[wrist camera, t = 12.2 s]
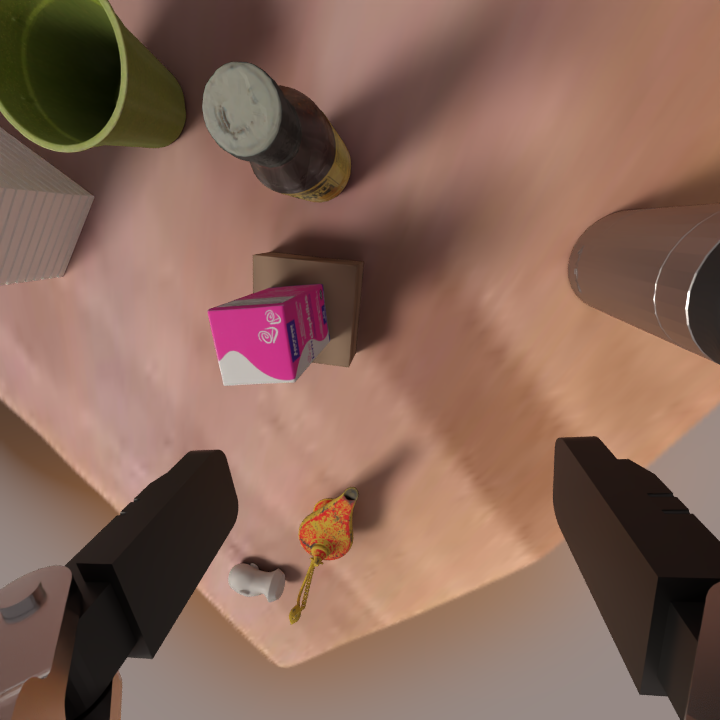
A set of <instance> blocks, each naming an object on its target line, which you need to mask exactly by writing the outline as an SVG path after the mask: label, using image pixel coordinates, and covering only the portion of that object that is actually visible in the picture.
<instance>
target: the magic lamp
mask: <svg viewBox="0 0 720 720" xmlns="http://www.w3.org/2000/svg"><path fill="white" fill-rule="evenodd" d="M357 499H358V491H357V489H356V488H355V487H350V488H347V489H346V490H345V491H344V493H343V494H342V495H340V496H339V497H338V498H336V499H323V500H321V501H319V502H318V503H317V504H316V505H315V507H314V511H313V513H311V514H310V515H308V516H307V517H306V518H305V519H304V520H303V521H302V523H301V525H300V527H299V540H300V543H301V545H302V547H303V548H304V549H305V550H306V552H308V553H309V554H310V555H312V556H313V558H310V559H311V560H312V561H311V564H310V567H309V569H308V572H307V574H306V577H305V579H304V582H303V584H302V587H301V589H300V592H299V595H298V598H297V605H296V606H295V607H294V608H293V609H292V610H291V611H290V614H289V619H290V622H291V625H292V624H293V623H295V622H297V621H298V620H299V618H300V615H301V611H302V610H303V609H304V608H305V606H306V601H307V596H308V592H309V588H310V584H311V579H312V575H313V571H314V569H315V568H314V567H315V566H316V567H317V566H319V564H323V562H321V561H322V560H335V559H338V558H341V557H342V556H344V555H345V554H346V553H347V552H348V551H349V550H350V548H351V546H352V543H353V528H352V514H353V508H354V505H355V503H356V501H357ZM310 573H312V575H311V574H310ZM309 576H311V577H309ZM309 579H310V580H309ZM306 581H307V583H306ZM308 582H310V583H308ZM305 583H306V584H307V585H309V586H307V585H306V589H308V590H306V589H305V592H304V597H305V596H306V597H305V598H304V597H303V601H304V600H305V601H304V602H303V601H302V605H301V608H300V597H301V594H302V591H303V588H304V586H305ZM306 592H307V593H306ZM305 593H306V594H305ZM303 605H305V606H303ZM294 618H295V619H294ZM293 619H294V620H293Z"/></svg>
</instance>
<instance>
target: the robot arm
mask: <svg viewBox="0 0 720 720" xmlns="http://www.w3.org/2000/svg"><path fill="white" fill-rule="evenodd" d="M568 276H569V281H570V284H571V287H572V289H573V291H574V292H575V294H576V295H577V296H578V297H579V298H580V299H581V300H582V301H583V302H584V303H586V304H588V305H589V306H591V307H593V308H595V309H597V310H600V311H602V312H604V313H606V314H608V315H610V316H612V317H615V318H617V319H619V320H621V321H624V322H626V323H628V324H630V325H632V326H635V327H637V328H639V329H641V330H644V331H646V332H648V333H650V334H653V335H655V336H657V337H659V338H661V339H664V340H666V341H668V342H670V343H673V344H675V345H677V346H679V347H681V348H684V349H686V350H688V351H690V352H693V353H695V354H698V355H700V356H702V357H704V358H706V359H709V360H711V361H713V362H715V363H717V364H720V203H717V204H704V205H691V206H678V207H665V208H649V209H637V210H627V211H619V212H616V213H613V214H610V215H607V216H606V217H604V218H602V219H600V220H598V221H597V222H595V223H594V224H593V225H591V226H590V227H589V228H588V229H587V230H586V231H585V232H584V233H583V234H582V235H581V236H580V238H579V239H578V241H577V243H576V244H575V246H574V247H573V250H572V253H571V255H570V258H569V265H568ZM553 504H554V511H555V515H556V519H557V522H558V525H559V527H560V529H561V531H562V533H563V536H564V538H565V540H566V542H567V544H568V546H569V548H570V550H571V552H572V554H573V556H574V558H575V561H576V563H577V565H578V567H579V569H580V571H581V573H582V575H583V577H584V579H585V581H586V584H587V586H588V588H589V590H590V592H591V594H592V596H593V598H594V600H595V602H596V604H597V607H598V609H599V611H600V613H601V615H602V617H603V619H604V621H605V623H606V625H607V627H608V629H609V632H610V634H611V635H612V638H613V640H614V642H615V644H616V646H617V648H618V650H619V652H620V654H621V656H622V659H623V661H624V663H625V665H626V667H627V669H628V671H629V673H630V675H631V678H632V679H633V682H634V684H635V686H636V688H637V690H638V692H639V694H640V695H654V696H668V698H669V700H670V701H671V703H672V705H673V707H674V709H675V711H676V713H677V714H678V716H679V718H680V720H720V541H719V540H718V539H717V538H716V537H715V536H714V535H713V534H712V533H711V532H710V531H709V530H708V529H707V528H706V527H705V526H704V525H703V524H702V523H701V522H700V521H699V520H698V519H697V518H696V516H695V515H694V514H690V513H689V509H688V508H687V507H686V506H685V505H684V504H683V503H682V502H681V501H680V500H679V499H678V498H677V497H674V496H673V493H672V492H671V491H670V490H669V489H668V488H667V486H666V485H665V484H664V483H663V482H662V481H661V480H660V479H659V478H658V477H657V476H656V475H655V474H653V473H652V472H650V471H648V470H647V469H645V468H643V467H641V466H640V465H638V464H636V463H634V462H633V461H631V460H629V459H617V458H616V457H615V456H614V455H613V454H612V453H611V451H610V450H609V449H608V448H607V447H606V446H605V445H604V443H603V442H602V441H601V440H600V439H599V438H598V437H595V436H592V437H565V438H558V439H557V440H556V443H555V455H554V481H553ZM237 515H238V499H237V495H236V491H235V488H234V484H233V480H232V477H231V473H230V469H229V466H228V462H227V459H226V456H225V454H224V453H223V452H222V451H221V450H197V451H190V452H188V453H187V454H186V455H185V456H184V457H183V458H182V459H181V460H180V461H179V462H178V463H177V464H176V465H175V466H174V467H173V468H172V469H171V470H170V471H169V472H168V473H166V474H164V475H163V476H161V477H160V478H158V479H157V480H155V481H153V482H152V483H150V484H149V485H148V486H147V487H146V488H145V489H144V490H143V491H142V492H141V493H140V494H139V495H138V496H137V497H136V498H134V502H130V503H129V504H128V505H127V506H126V507H125V508H124V509H123V510H122V511H121V512H120V515H118V516H116V517H115V518H114V519H113V520H112V521H111V522H110V523H109V524H108V525H107V526H106V527H104V528H103V529H102V530H101V532H99V533H98V534H97V535H96V536H95V537H94V538H93V539H92V540H91V541H90V542H89V543H88V544H87V545H86V546H85V547H84V548H83V549H82V550H81V551H80V552H79V553H78V554H76V555H75V556H74V557H73V558H72V559H71V560H70V561H69V562H68V563H67V564H66V565H65V566H61V565H56V566H49V567H45V568H41V569H38V570H35V571H32V572H30V573H28V574H26V575H23V576H22V577H20V578H18V579H16V580H14V581H12V582H11V583H9V584H7V585H6V586H5V587H3V588H2V589H0V720H121V719H120V718H121V700H122V678H121V675H120V673H119V671H118V670H119V668H120V667H121V666H122V664H123V663H124V661H125V660H126V658H127V657H131V658H147V659H153V658H154V656H155V654H156V653H157V651H158V649H159V647H160V646H161V644H162V643H163V641H164V639H165V638H166V636H167V635H168V633H169V631H170V629H171V628H172V626H173V625H174V623H175V621H176V620H177V618H178V616H179V615H180V613H181V612H182V610H183V608H184V607H185V605H186V603H187V602H188V600H189V598H190V597H191V595H192V594H193V592H194V590H195V589H196V587H197V585H198V584H199V582H200V580H201V579H202V577H203V575H204V574H205V572H206V571H207V569H208V567H209V566H210V564H211V562H212V561H213V559H214V557H215V556H216V554H217V552H218V551H219V549H220V548H221V546H222V544H223V543H224V541H225V539H226V538H227V536H228V534H229V533H230V531H231V529H232V528H233V526H234V524H235V522H236V519H237Z"/></svg>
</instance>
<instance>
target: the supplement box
mask: <svg viewBox="0 0 720 720" xmlns="http://www.w3.org/2000/svg"><path fill="white" fill-rule="evenodd" d="M208 316H209V321H210V326H211V331H212V335H213V340H214V344H215V349H216V353H217V358H218V362H219V366H220V370H221V375H222V379H223V385H224V386H230V385H248V384H266V383H289V382H296V380H297V379H298V378H299V377H300V376H301V374H302V373H303V372H304V371H305V370H306V369H307V368H308V366H309V365H310V364H311V363H312V362H313V360H314V359H315V358H316V357H317V356H318V355H319V353H320V352H321V351H322V350H323V349H324V348H325V347H326V345H327V344H328V343H329V342H330V335H329V330H328V324H327V316H326V308H325V300H324V288H323V284H310V285H297V286H284V287H273V288H267V289H264V290H262V291H259V292H256V293H253V294H250V295H248V296H245V297H242V298H239V299H236V300H234V301H231V302H228V303H225V304H223V305H220V306H217V307H214V308H211V309H209V310H208Z"/></svg>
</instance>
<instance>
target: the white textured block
mask: <svg viewBox="0 0 720 720" xmlns="http://www.w3.org/2000/svg"><path fill="white" fill-rule="evenodd" d="M93 200H94V196H93V195H92V194H90V193H89V192H88V191H86V190H85V189H84V188H82V187H81V186H80V185H78V184H77V183H75V182H74V181H73V180H71V179H70V178H69V177H67V176H66V175H65V174H63V173H62V172H61V171H59V170H58V169H57V168H55V167H54V166H52V165H51V164H50V163H48V162H47V161H46V160H44V159H43V158H42V157H40V156H39V155H38V154H36V153H35V152H33V151H32V150H31V149H29V148H28V147H27V146H25V145H24V144H23V143H21V142H20V141H19V140H17V139H16V138H15V137H13V136H12V135H10V134H9V133H8V132H6V131H5V130H4V129H2V128H1V127H0V286H2V285H5V283H6V284H7V285H9V284H15V282H16V283H23V282H24V281H25V282H30V281H33V280H34V281H37V280H41V279H42V280H44V279H49V278H50V279H52V278H56V277H58V278H59V277H63V276H64V274H65V271H66V268H67V266H68V263H69V261H70V258H71V256H72V253H73V251H74V248H75V246H76V243H77V241H78V238H79V235H80V233H81V230H82V228H83V225H84V223H85V220H86V218H87V215H88V213H89V210H90V208H91V205H92V202H93Z"/></svg>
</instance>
